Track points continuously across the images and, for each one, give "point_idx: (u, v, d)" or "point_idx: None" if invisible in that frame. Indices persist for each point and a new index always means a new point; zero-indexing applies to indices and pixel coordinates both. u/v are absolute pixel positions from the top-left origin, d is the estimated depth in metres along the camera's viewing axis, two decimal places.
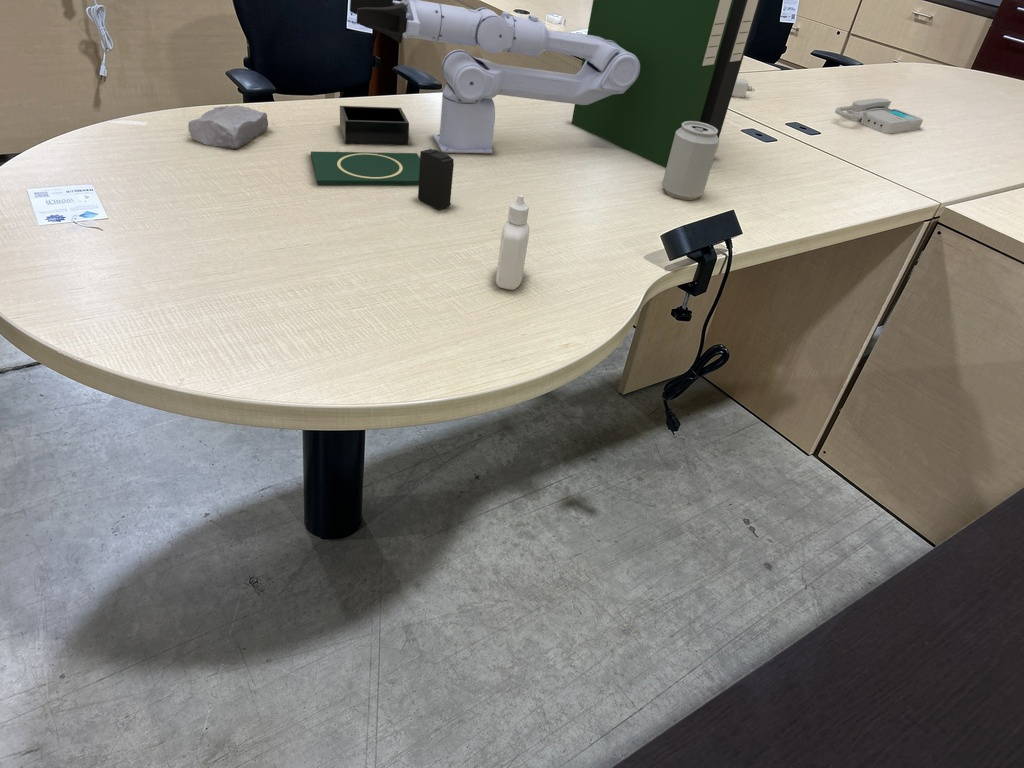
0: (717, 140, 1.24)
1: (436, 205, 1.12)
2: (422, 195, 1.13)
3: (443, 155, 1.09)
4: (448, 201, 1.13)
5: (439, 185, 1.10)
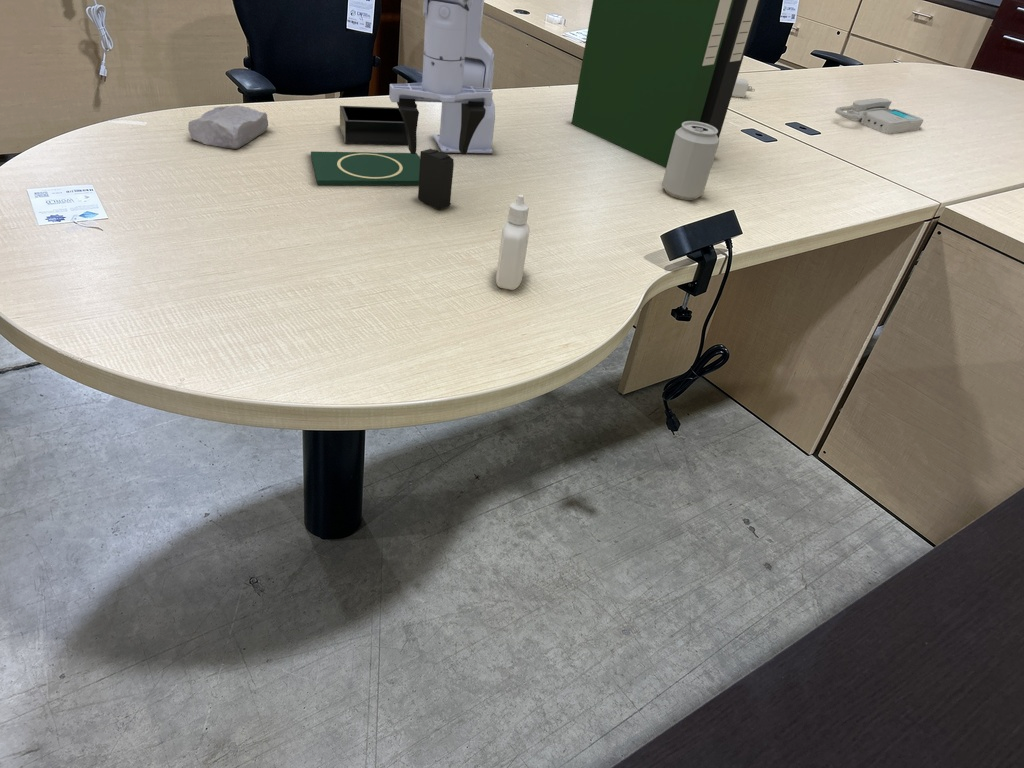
0: (717, 140, 1.24)
1: (436, 205, 1.12)
2: (422, 195, 1.13)
3: (443, 155, 1.09)
4: (448, 201, 1.13)
5: (439, 185, 1.10)
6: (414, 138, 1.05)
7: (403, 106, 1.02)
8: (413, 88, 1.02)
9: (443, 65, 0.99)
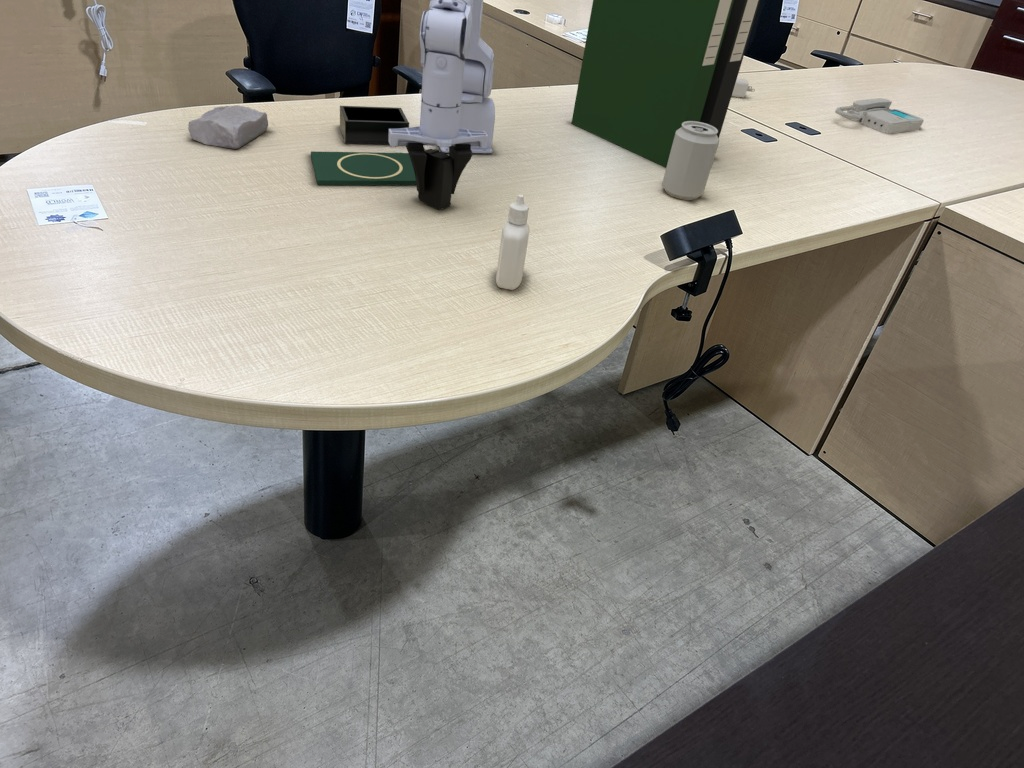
0: (717, 140, 1.24)
1: (436, 205, 1.12)
2: (422, 194, 1.13)
3: (443, 155, 1.09)
4: (448, 201, 1.13)
5: (439, 185, 1.10)
6: (422, 180, 1.10)
7: (412, 150, 1.07)
8: (411, 133, 1.06)
9: (440, 112, 1.03)
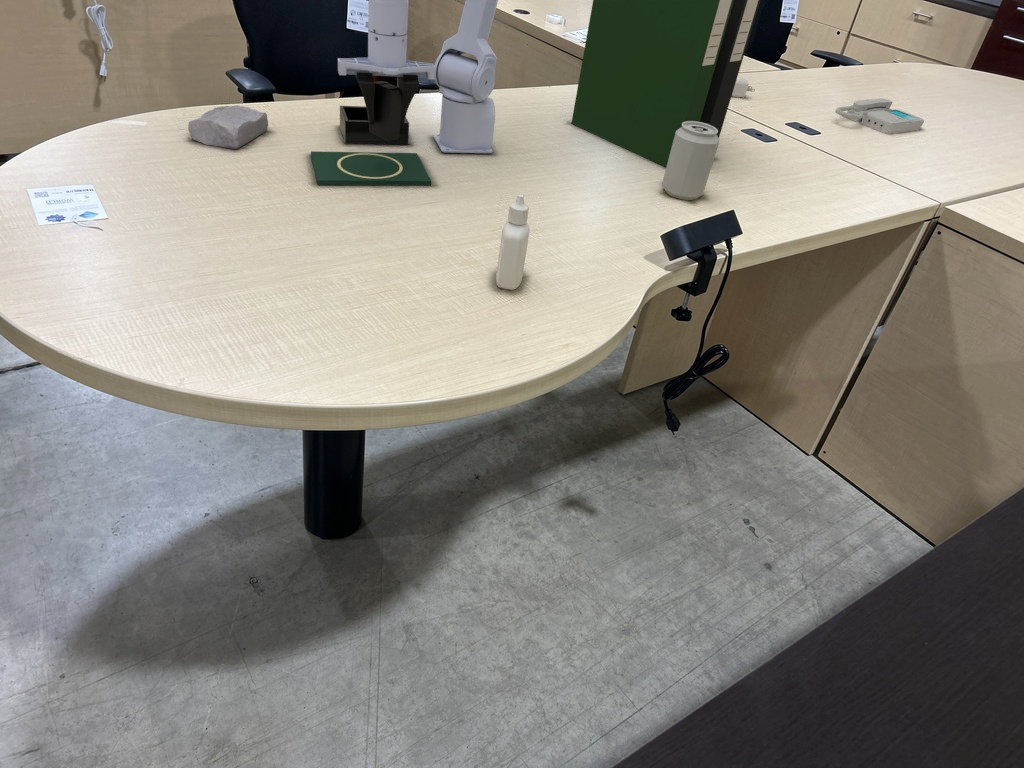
0: (717, 140, 1.24)
1: (385, 136, 1.16)
2: (373, 126, 1.17)
3: (392, 86, 1.13)
4: (397, 133, 1.16)
5: (387, 116, 1.14)
6: (372, 110, 1.13)
7: (361, 79, 1.10)
8: (359, 62, 1.10)
9: (386, 40, 1.07)
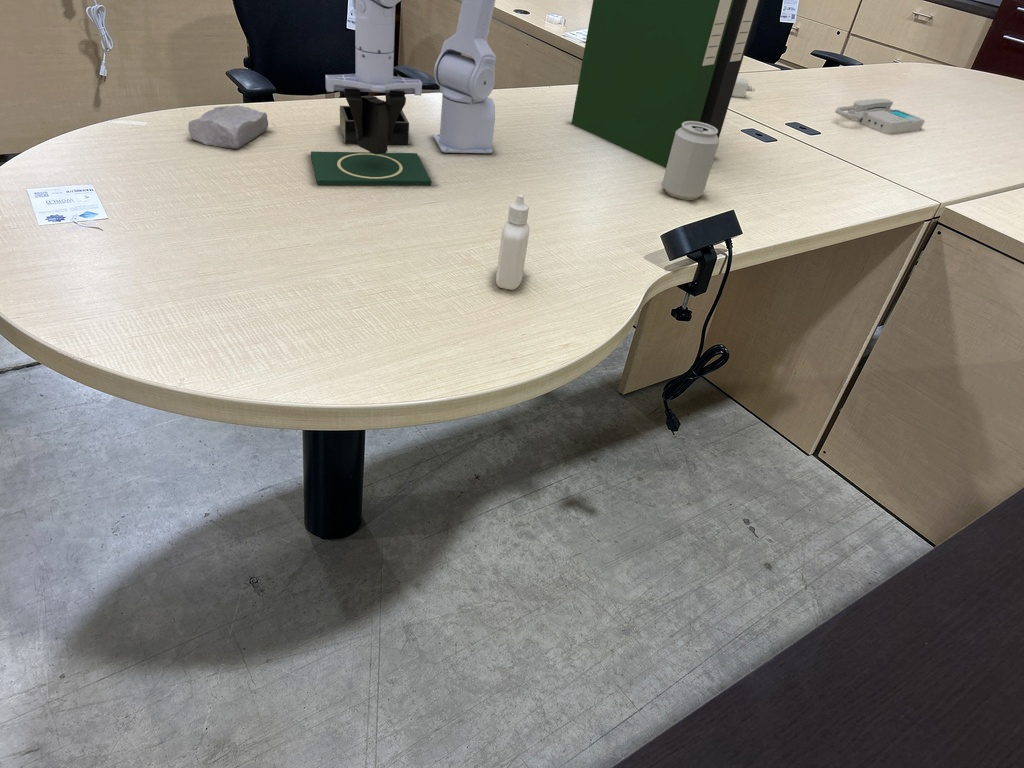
0: (717, 140, 1.24)
1: (373, 150, 1.17)
2: (361, 140, 1.19)
3: (380, 101, 1.14)
4: (385, 147, 1.18)
5: (375, 130, 1.15)
6: (360, 125, 1.15)
7: (348, 96, 1.12)
8: (347, 79, 1.11)
9: (372, 57, 1.08)
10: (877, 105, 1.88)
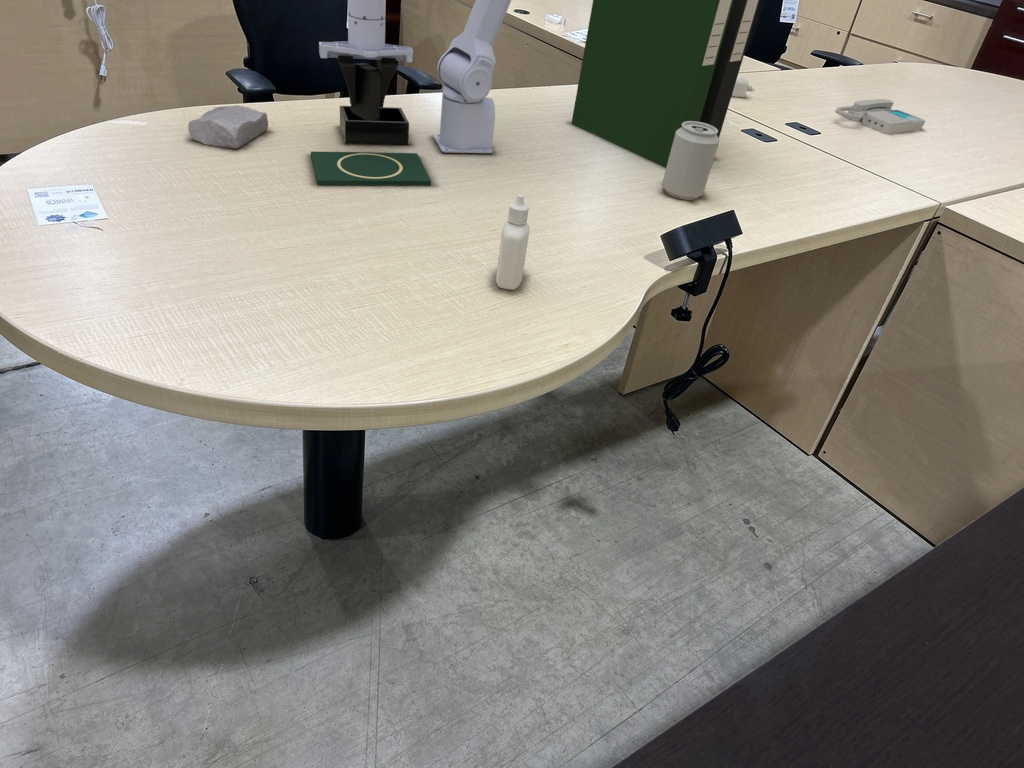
0: (717, 140, 1.24)
1: (365, 116, 1.21)
2: None
3: (372, 68, 1.18)
4: (377, 113, 1.21)
5: (367, 96, 1.19)
6: (353, 92, 1.18)
7: (342, 62, 1.15)
8: (340, 45, 1.15)
9: (364, 24, 1.12)
10: (878, 105, 1.88)
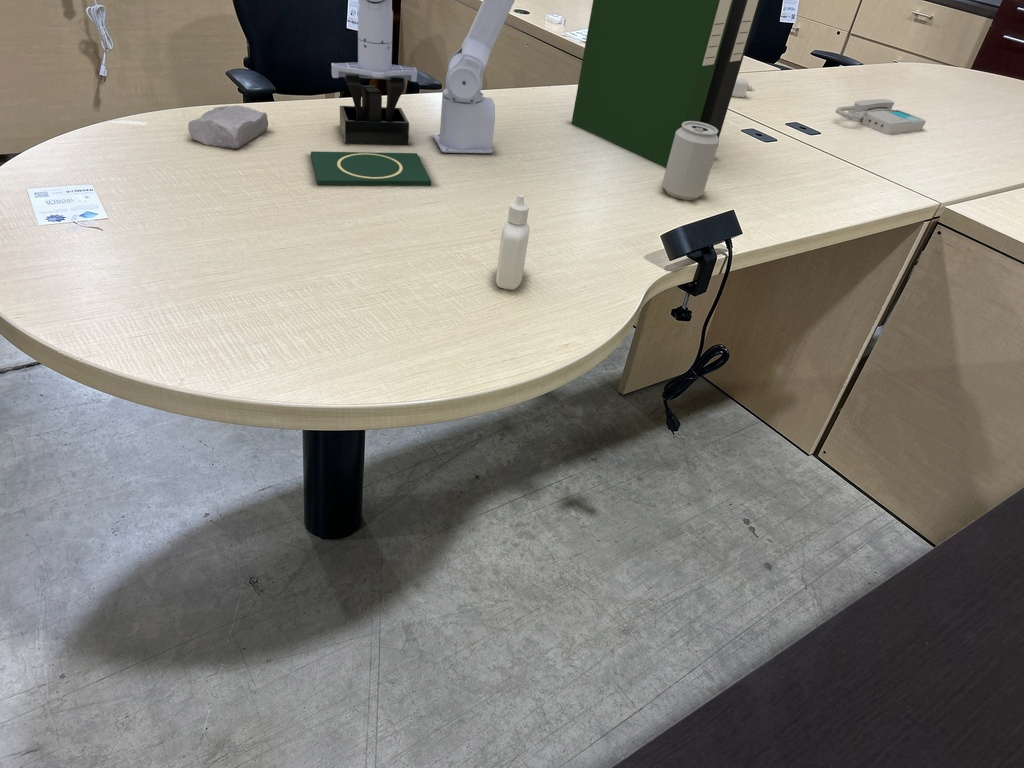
0: (717, 140, 1.24)
1: None
2: None
3: (375, 90, 1.28)
4: None
5: (368, 115, 1.29)
6: (359, 108, 1.29)
7: (349, 81, 1.26)
8: (350, 66, 1.26)
9: (373, 47, 1.22)
10: (878, 105, 1.88)
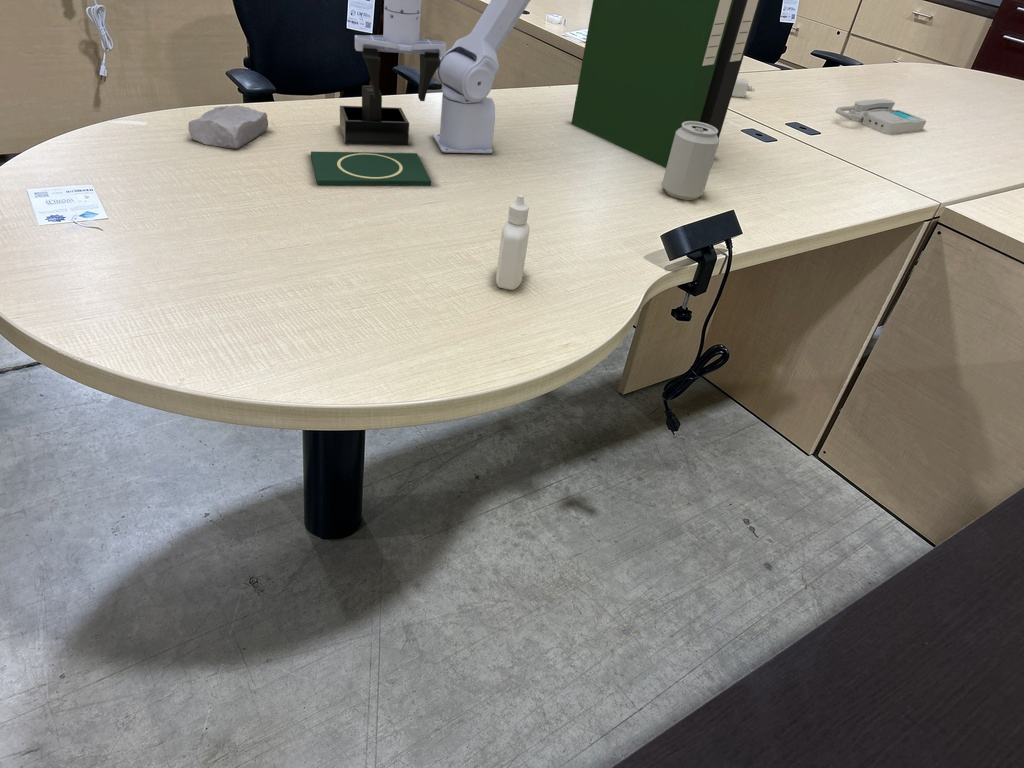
0: (717, 140, 1.24)
1: None
2: None
3: None
4: None
5: (368, 115, 1.29)
6: (377, 84, 1.20)
7: (366, 55, 1.17)
8: (375, 39, 1.17)
9: (401, 17, 1.13)
10: (878, 105, 1.88)
